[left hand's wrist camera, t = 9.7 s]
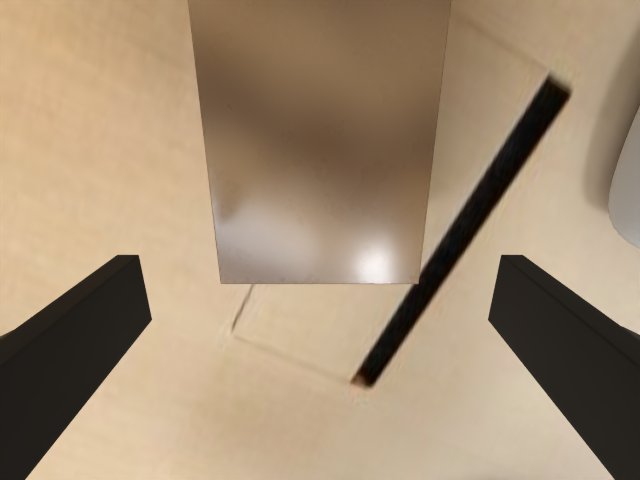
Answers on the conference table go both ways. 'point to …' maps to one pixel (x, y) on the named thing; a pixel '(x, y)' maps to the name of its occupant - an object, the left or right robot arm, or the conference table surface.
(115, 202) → the conference table surface
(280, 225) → the cabinet
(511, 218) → the conference table surface
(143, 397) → the conference table surface
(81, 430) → the conference table surface
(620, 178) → the projector
